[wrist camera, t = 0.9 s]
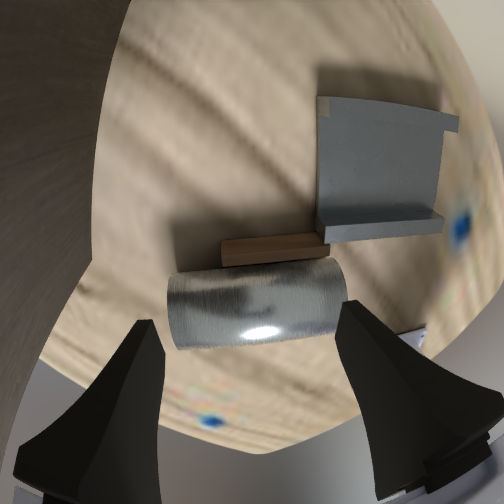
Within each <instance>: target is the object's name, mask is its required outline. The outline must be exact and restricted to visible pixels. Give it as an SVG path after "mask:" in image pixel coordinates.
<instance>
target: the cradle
mask: <svg viewBox="0 0 504 504" xmlns="http://www.w3.org/2000/svg"><path fill="white" fill-rule="evenodd" d="M458 124H459V116H455V115H451V114H447V113H443V112H438V111H434V110H429V109H424V108H419V107H414V106H408V105H403V104H396V103H390V102H383V101H375V100H366V99H356V98H345V97H330V96H317V182H316V211H315V230H316V231H317V233H318V234H319V236H320V237H321V239H322V241H323V242H324V244H327V243H337V242H348V241H358V240H369V239H380V238H390V237H401V236H411V235H422V234H433V233H441V232H442V228H443V224H444V219H445V218H443V217H442V216H441V215H439V214H438V213H436V212H435V211H434V210H433V207H434V202H435V196H436V190H437V184H438V178H439V171H440V163H441V155H442V145H443V133H444V130H446V131H451V132H456V133H458Z"/></svg>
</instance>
